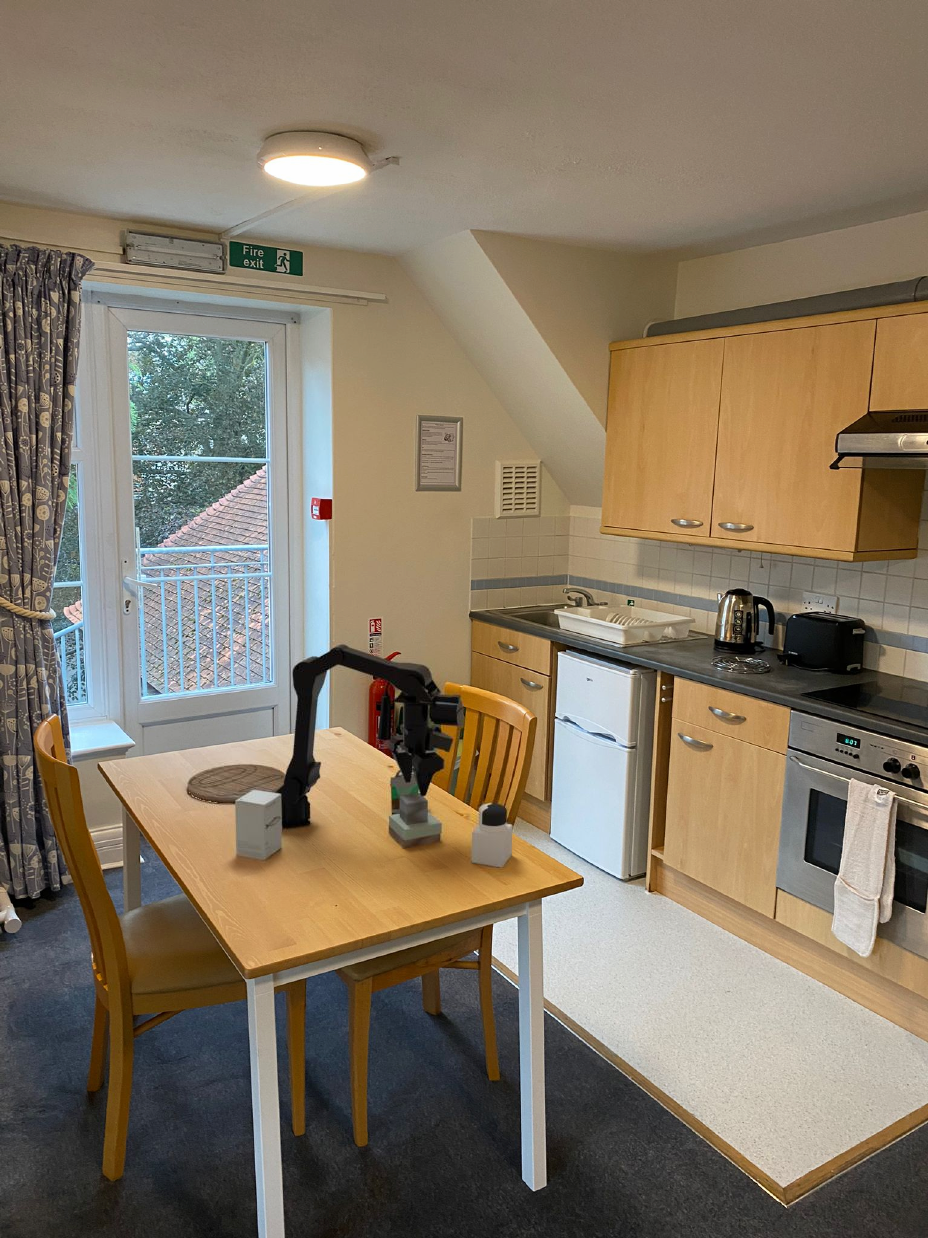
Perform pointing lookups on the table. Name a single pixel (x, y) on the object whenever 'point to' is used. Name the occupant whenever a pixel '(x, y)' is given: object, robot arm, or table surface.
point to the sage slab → (415, 827)
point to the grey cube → (413, 808)
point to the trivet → (234, 782)
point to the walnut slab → (415, 841)
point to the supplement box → (258, 824)
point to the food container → (401, 790)
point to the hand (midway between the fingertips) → (415, 789)
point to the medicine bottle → (492, 836)
